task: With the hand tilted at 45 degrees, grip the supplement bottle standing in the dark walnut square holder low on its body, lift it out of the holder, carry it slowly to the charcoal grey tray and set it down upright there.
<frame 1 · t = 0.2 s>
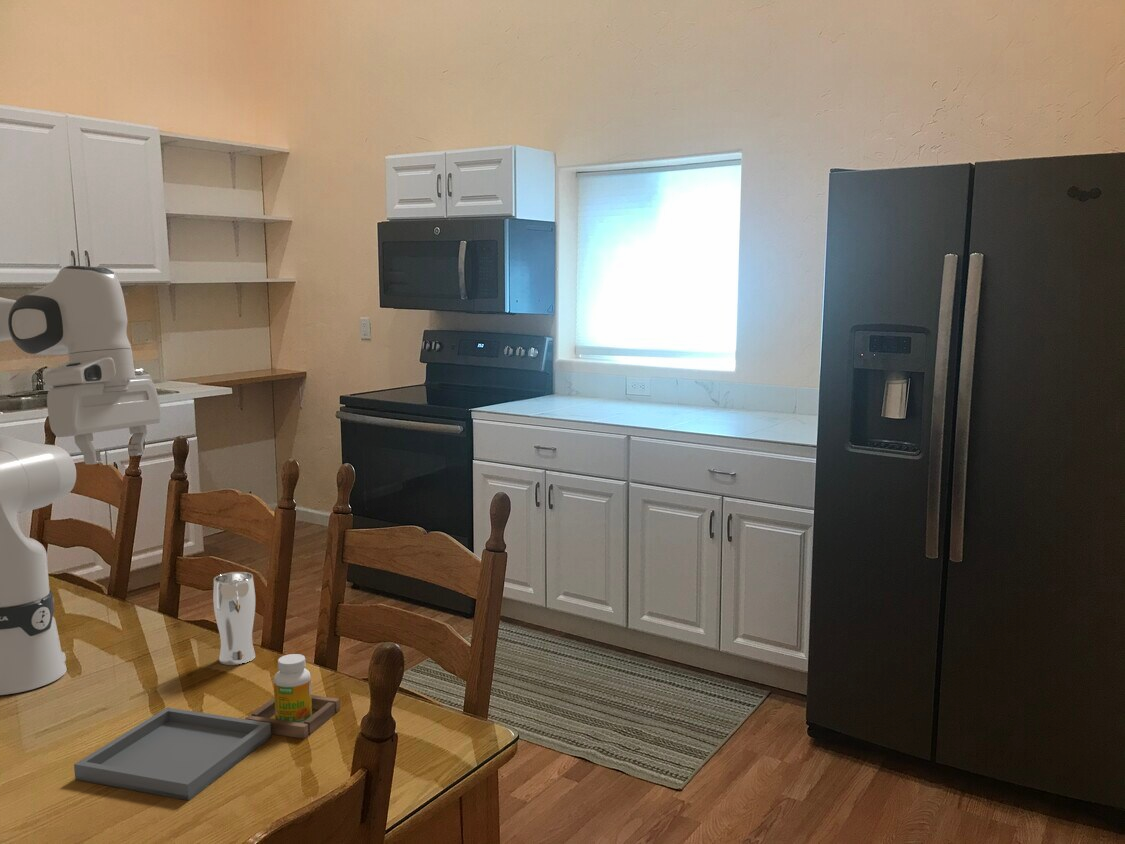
hand: (115, 459, 145), 39 cm above the table, fingers open, 8 cm apart
supplement bottle: (293, 720, 143), resting in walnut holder
beer glass: (237, 659, 166), on the table
grey tray: (177, 757, 131), on the table
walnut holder: (293, 719, 143), on the table
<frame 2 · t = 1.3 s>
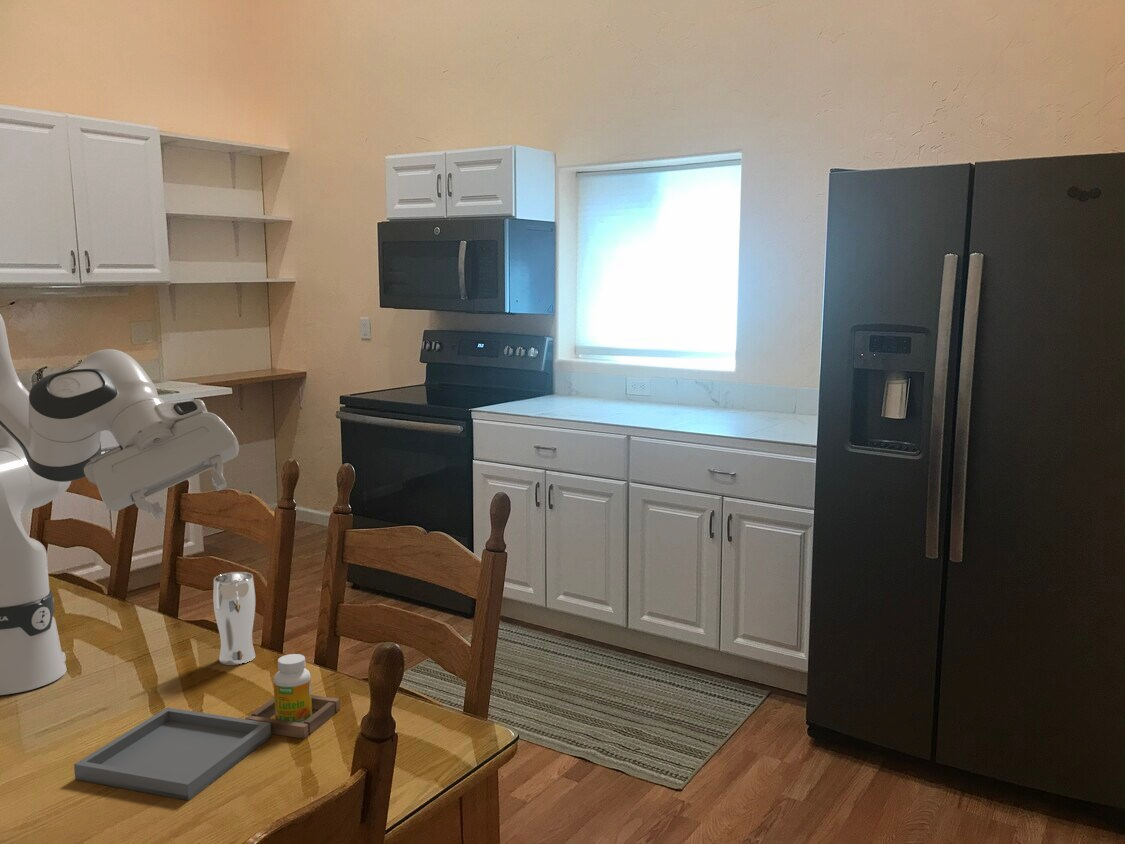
hand: (191, 501, 136), 35 cm above the table, fingers open, 8 cm apart
nothing on the table moved.
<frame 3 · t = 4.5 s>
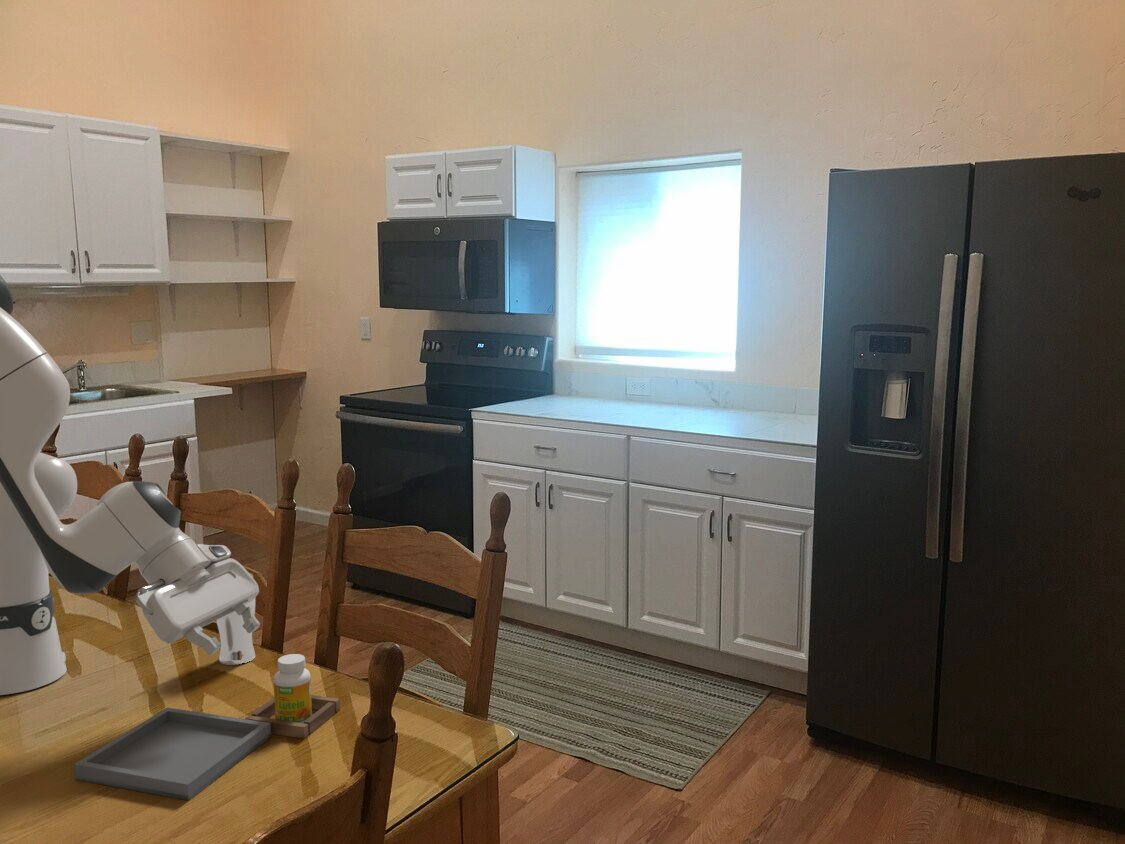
hand: (236, 639, 143), 12 cm above the table, fingers open, 8 cm apart
nothing on the table moved.
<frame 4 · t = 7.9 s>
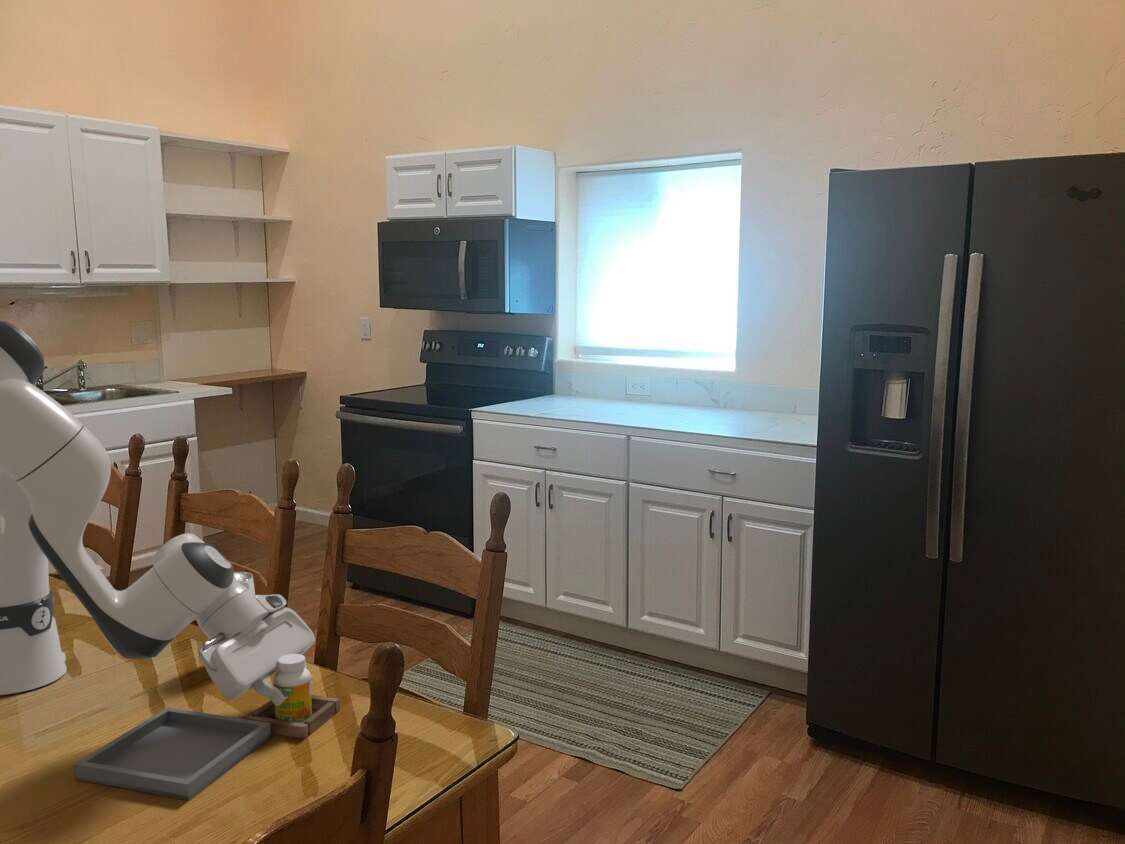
hand: (296, 692, 142), 4 cm above the table, fingers closed on supplement bottle, 5 cm apart
supplement bottle: (294, 720, 143), resting in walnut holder, touching gripper
everything else where it was.
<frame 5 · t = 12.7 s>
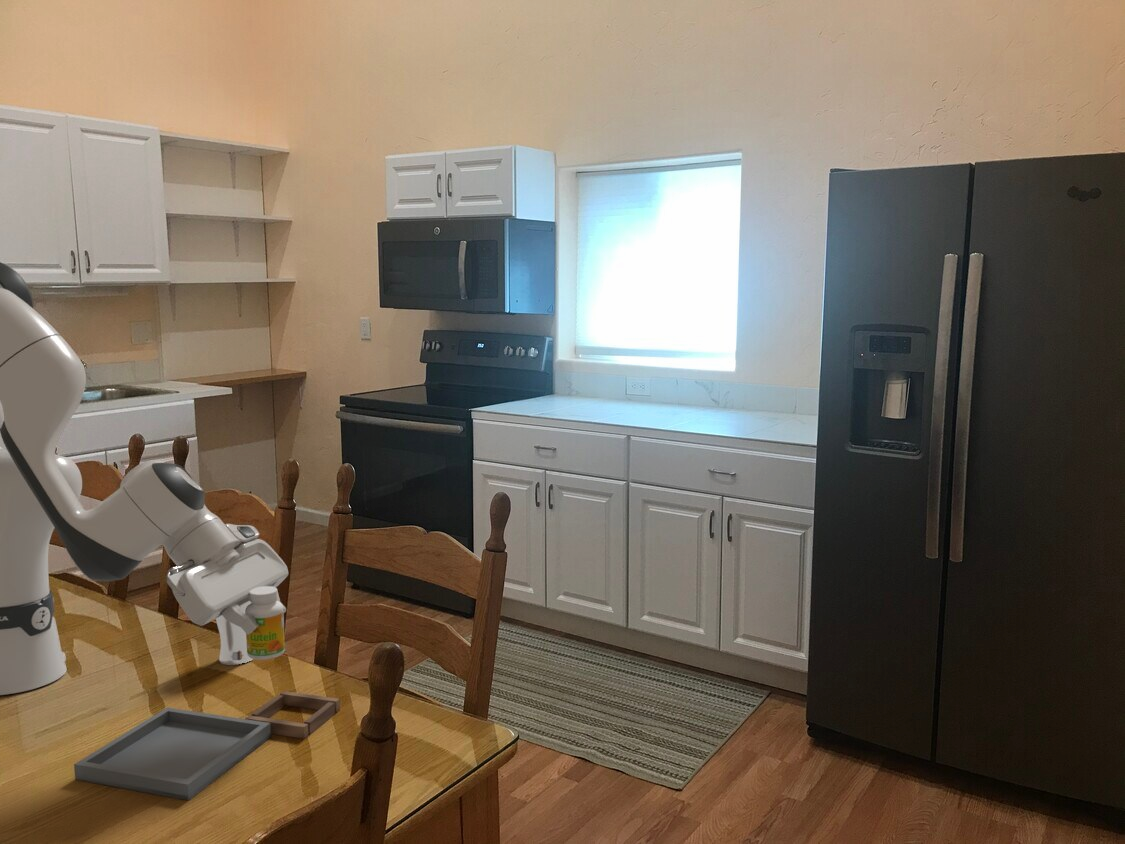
hand: (268, 622, 138), 16 cm above the table, fingers closed on supplement bottle, 5 cm apart
supplement bottle: (266, 654, 139), point 11 cm above the table, touching gripper
everything else where it was.
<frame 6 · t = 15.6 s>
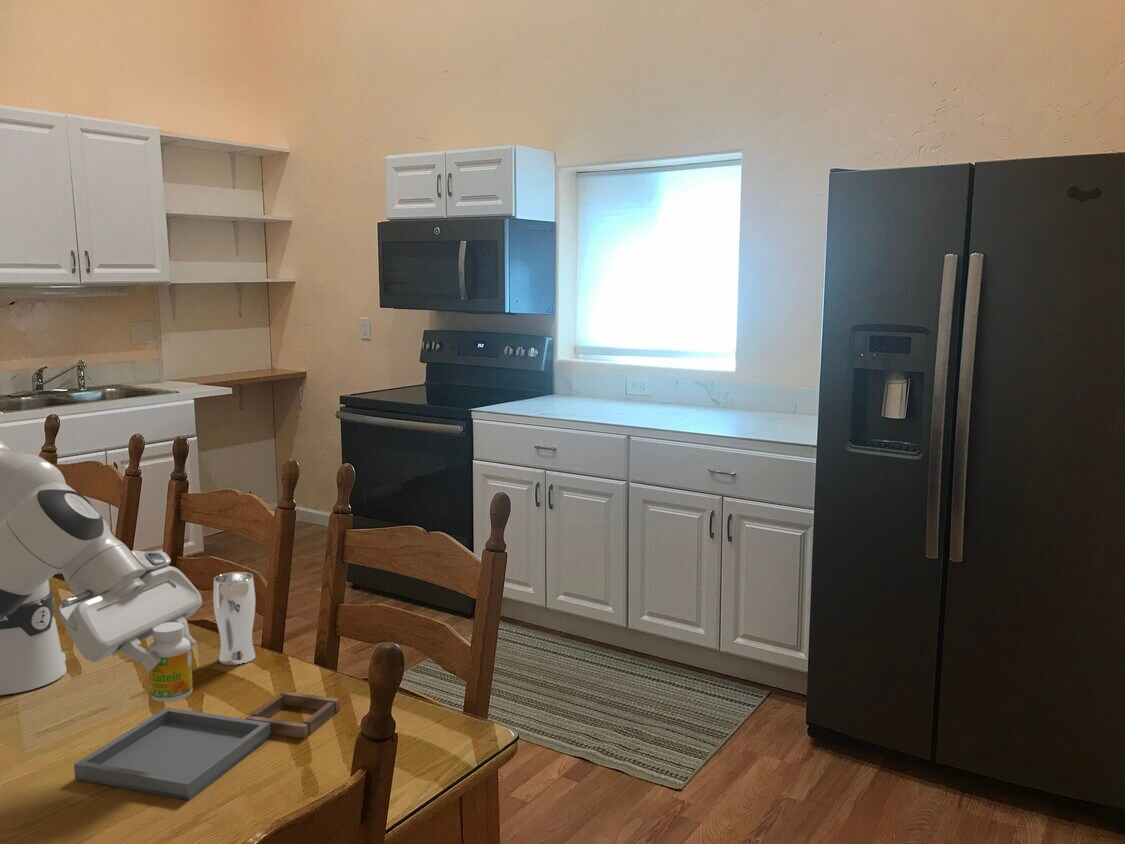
hand: (173, 657, 129), 15 cm above the table, fingers closed on supplement bottle, 5 cm apart
supplement bottle: (172, 695, 129), point 9 cm above the table, touching gripper
everything else where it was.
when the fingers open (6 cm above the table, at t = 17.8 s): supplement bottle stays where it is, resting on grey tray.
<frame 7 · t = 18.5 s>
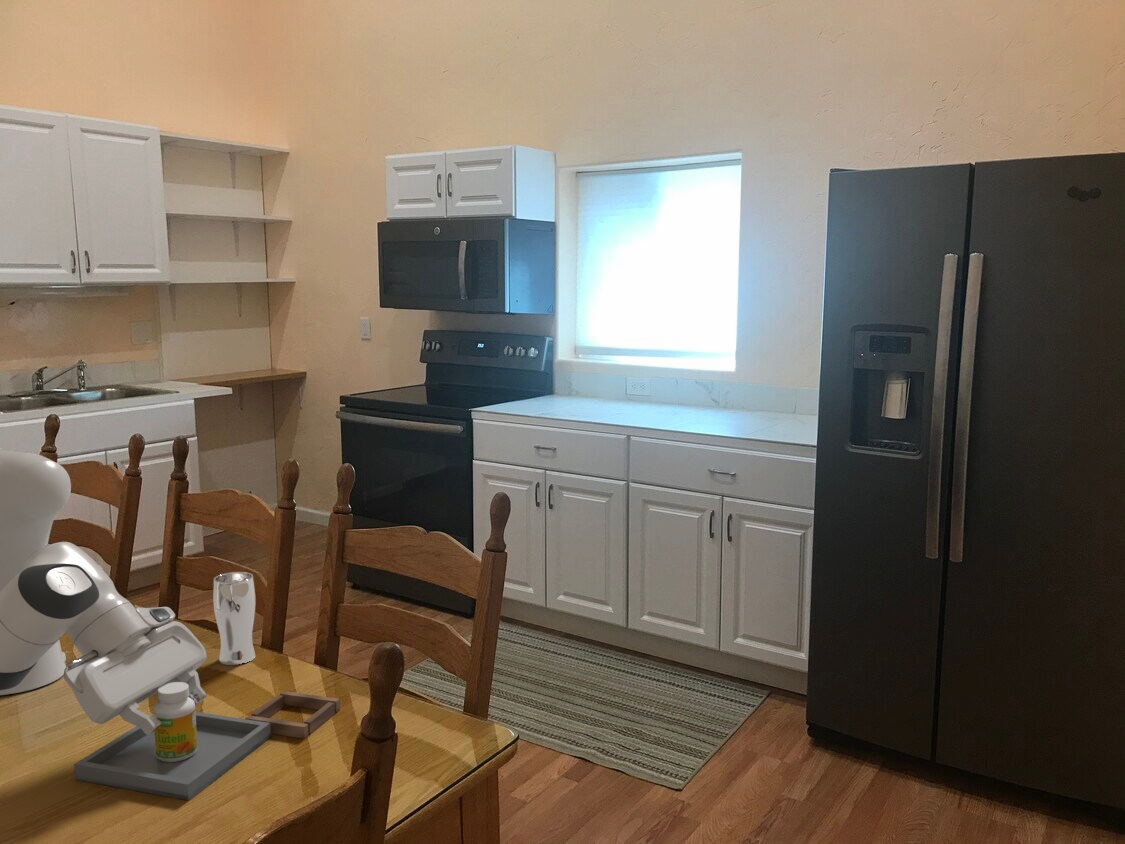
hand: (178, 715, 130), 6 cm above the table, fingers open, 8 cm apart
supplement bottle: (177, 755, 131), resting on grey tray
everything else where it was.
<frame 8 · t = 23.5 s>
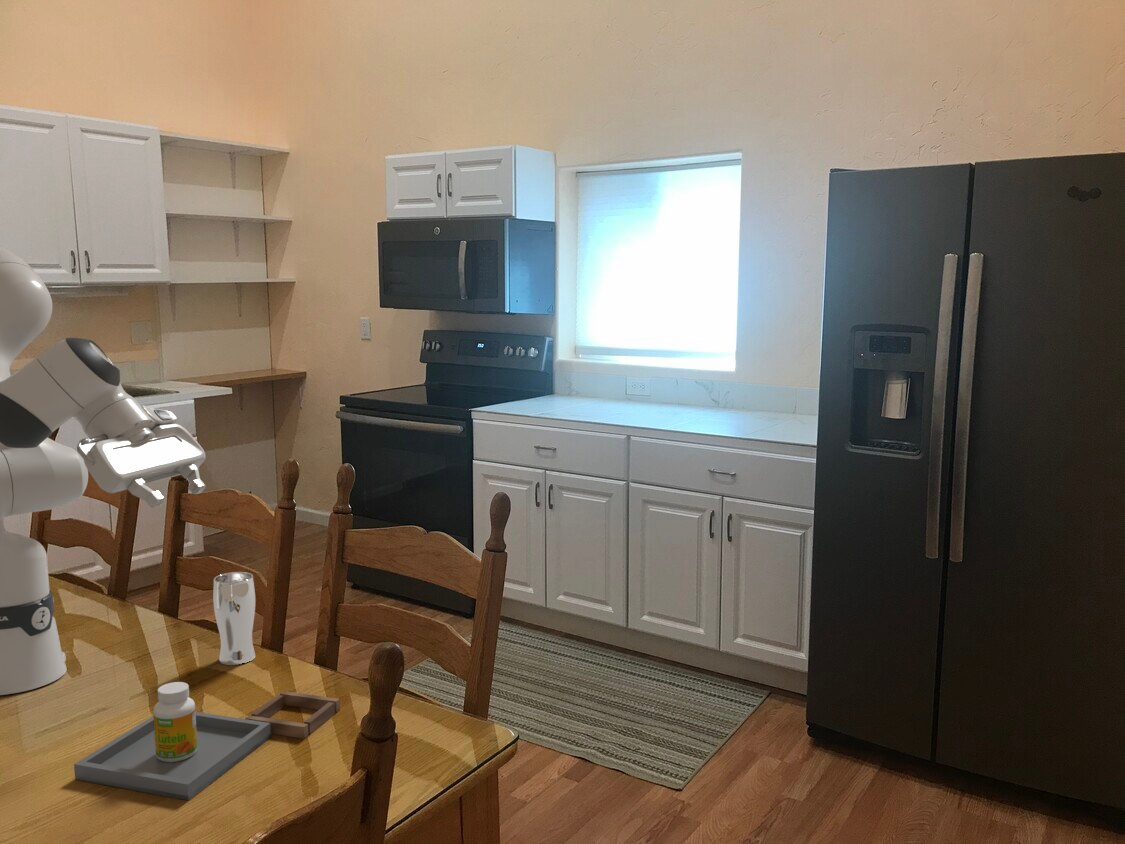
hand: (180, 497, 143), 33 cm above the table, fingers open, 8 cm apart
nothing on the table moved.
at the end: supplement bottle inside the target area on the grey tray (0.1 cm from its centre), point 0.4 cm above the grey tray's base; supplement bottle tilted 0°; the gripper is holding nothing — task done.
